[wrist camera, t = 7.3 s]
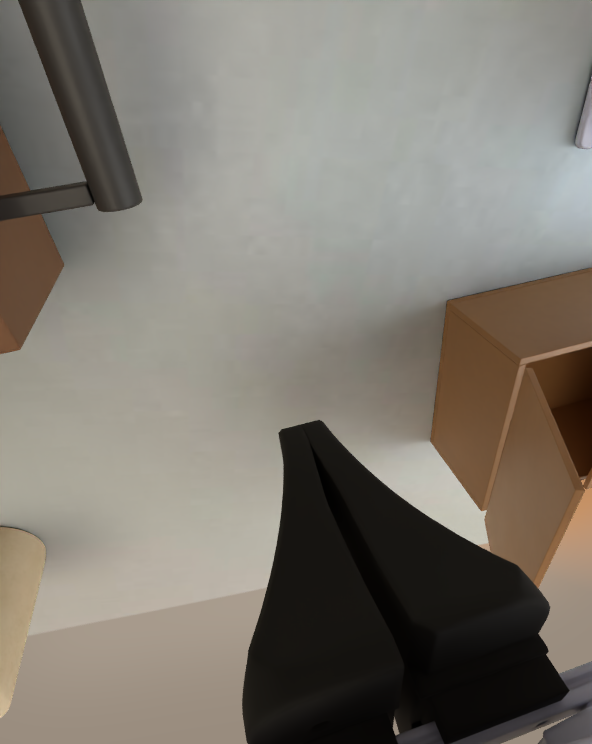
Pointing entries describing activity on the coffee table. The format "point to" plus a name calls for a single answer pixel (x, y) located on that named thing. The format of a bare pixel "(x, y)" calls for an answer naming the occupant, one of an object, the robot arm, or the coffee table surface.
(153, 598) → the coffee table surface
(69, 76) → the drawer
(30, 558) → the candle
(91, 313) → the coffee table surface
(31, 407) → the coffee table surface
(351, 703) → the robot arm
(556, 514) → the flap
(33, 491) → the coffee table surface
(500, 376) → the carton
